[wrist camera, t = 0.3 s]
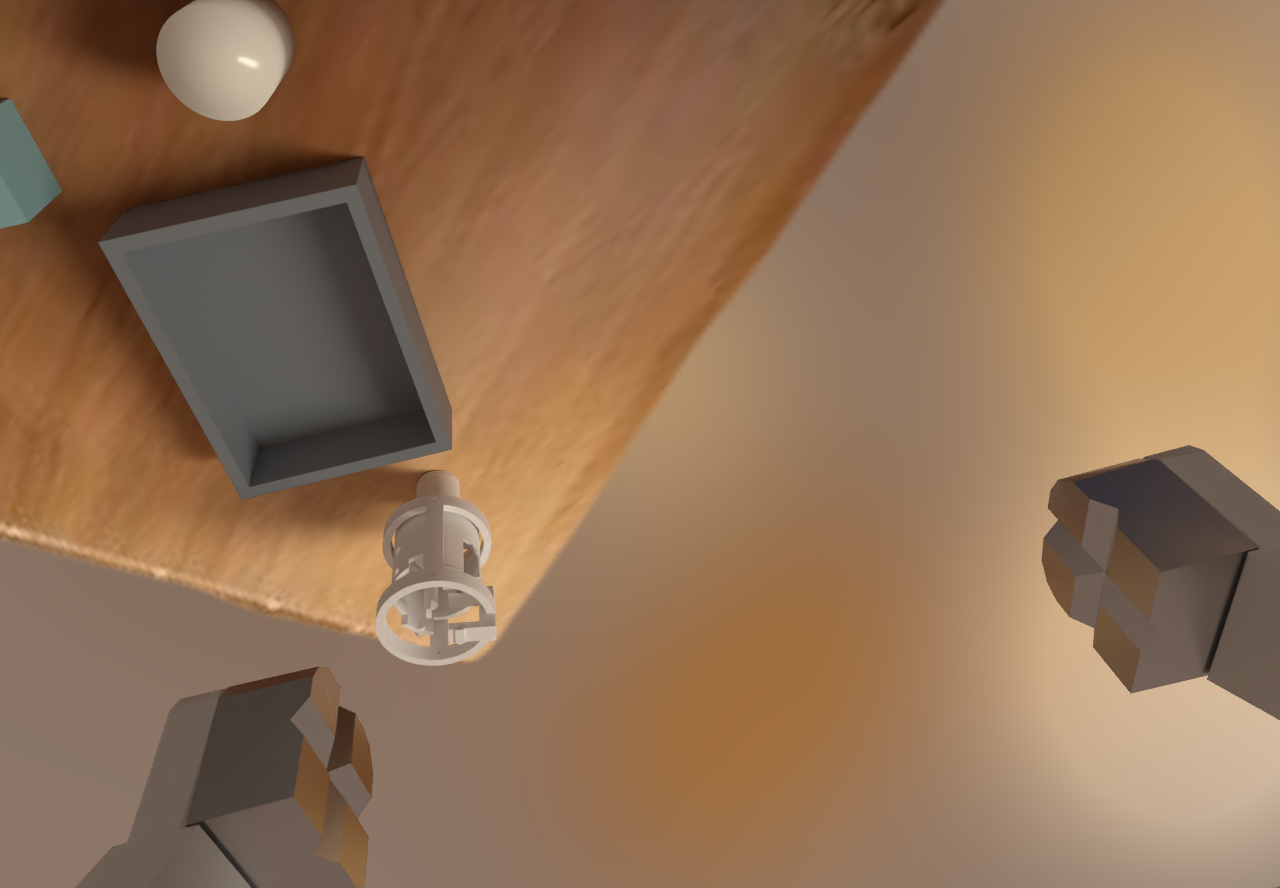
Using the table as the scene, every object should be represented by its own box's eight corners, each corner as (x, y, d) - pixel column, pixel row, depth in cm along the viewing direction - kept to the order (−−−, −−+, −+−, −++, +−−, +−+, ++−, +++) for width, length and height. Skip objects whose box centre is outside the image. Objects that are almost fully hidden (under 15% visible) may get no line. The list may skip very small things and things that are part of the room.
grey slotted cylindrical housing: (488, 522, 67) (497, 674, 55) (391, 527, 66) (379, 684, 54) (486, 445, 63) (496, 590, 51) (384, 449, 62) (368, 599, 50)
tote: (126, 209, 50) (98, 242, 46) (363, 156, 51) (356, 184, 47) (255, 455, 60) (242, 499, 56) (451, 408, 61) (451, 449, 57)
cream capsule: (174, -6, 45) (135, 17, 39) (272, -26, 45) (247, -7, 39) (218, 96, 48) (187, 131, 42) (309, 76, 48) (291, 108, 42)
